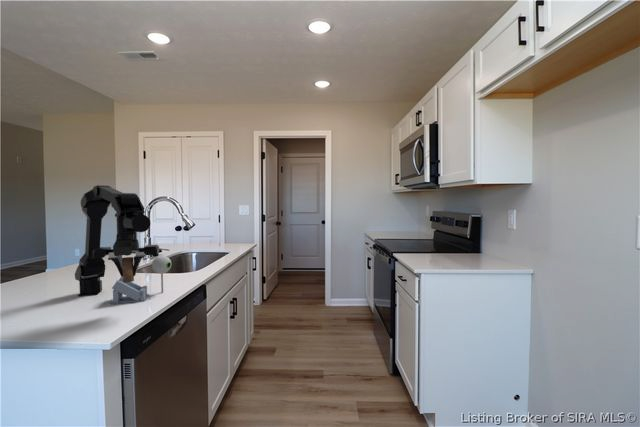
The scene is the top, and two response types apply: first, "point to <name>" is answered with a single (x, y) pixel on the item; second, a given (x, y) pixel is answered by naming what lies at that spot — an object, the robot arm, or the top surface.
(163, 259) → the lollipop
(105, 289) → the top surface
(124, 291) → the cradle
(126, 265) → the peg
